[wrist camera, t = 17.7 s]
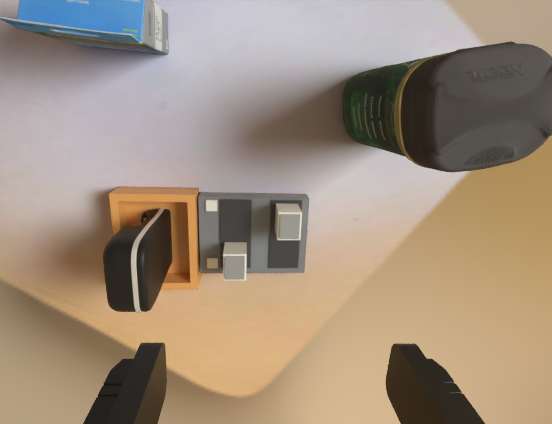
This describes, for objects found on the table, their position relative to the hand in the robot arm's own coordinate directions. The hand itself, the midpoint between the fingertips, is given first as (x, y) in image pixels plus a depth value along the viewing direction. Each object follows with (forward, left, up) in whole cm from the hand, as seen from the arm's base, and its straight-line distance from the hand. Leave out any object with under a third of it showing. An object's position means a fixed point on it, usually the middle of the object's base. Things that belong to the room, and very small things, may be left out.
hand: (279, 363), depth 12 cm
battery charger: (-11, -6, -29) cm, 31 cm away
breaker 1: (-2, -8, -27) cm, 28 cm away
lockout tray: (-11, -6, -29) cm, 32 cm away
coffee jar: (+14, +9, -29) cm, 33 cm away
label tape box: (-13, +15, -29) cm, 35 cm away
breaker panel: (0, -6, -29) cm, 30 cm away
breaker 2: (+3, -3, -27) cm, 27 cm away
